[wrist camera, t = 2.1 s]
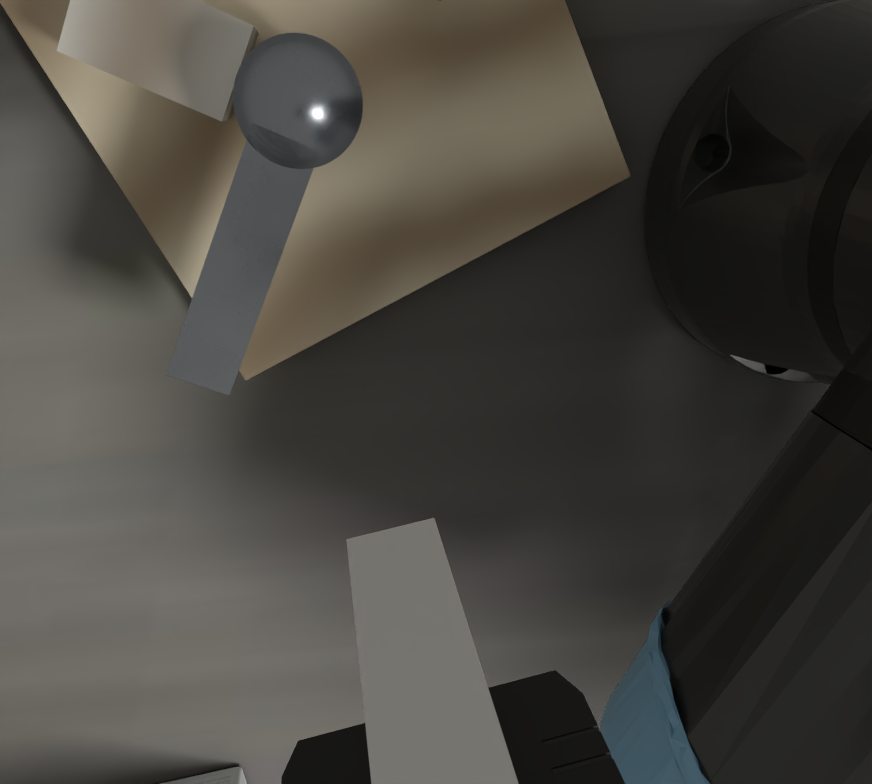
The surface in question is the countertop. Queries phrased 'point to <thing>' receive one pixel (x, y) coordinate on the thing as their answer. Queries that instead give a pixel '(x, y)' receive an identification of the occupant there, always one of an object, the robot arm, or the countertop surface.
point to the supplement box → (215, 777)
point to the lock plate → (367, 154)
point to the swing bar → (265, 193)
